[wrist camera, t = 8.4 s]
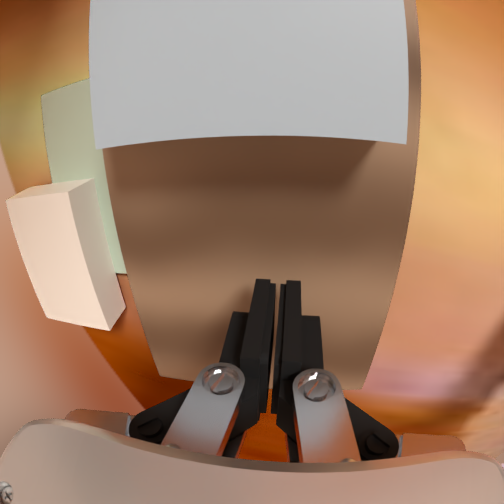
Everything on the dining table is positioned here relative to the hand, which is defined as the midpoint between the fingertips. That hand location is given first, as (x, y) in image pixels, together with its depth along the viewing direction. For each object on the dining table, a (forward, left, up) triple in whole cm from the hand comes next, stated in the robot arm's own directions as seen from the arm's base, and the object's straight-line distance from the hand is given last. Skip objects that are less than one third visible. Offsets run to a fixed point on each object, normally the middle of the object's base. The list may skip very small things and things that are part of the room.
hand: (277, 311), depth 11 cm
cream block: (0, -13, -2) cm, 14 cm away
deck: (-3, -1, -5) cm, 6 cm away
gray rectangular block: (-10, -1, -1) cm, 10 cm away
